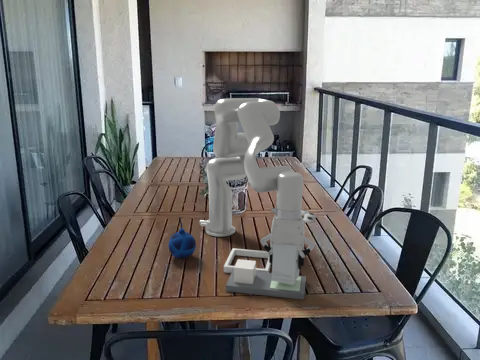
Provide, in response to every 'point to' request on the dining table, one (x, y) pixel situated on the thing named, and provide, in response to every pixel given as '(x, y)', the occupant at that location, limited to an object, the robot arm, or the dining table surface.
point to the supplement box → (285, 263)
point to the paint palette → (308, 216)
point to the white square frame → (246, 253)
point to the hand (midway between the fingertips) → (286, 266)
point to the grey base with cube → (262, 282)
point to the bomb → (182, 244)
